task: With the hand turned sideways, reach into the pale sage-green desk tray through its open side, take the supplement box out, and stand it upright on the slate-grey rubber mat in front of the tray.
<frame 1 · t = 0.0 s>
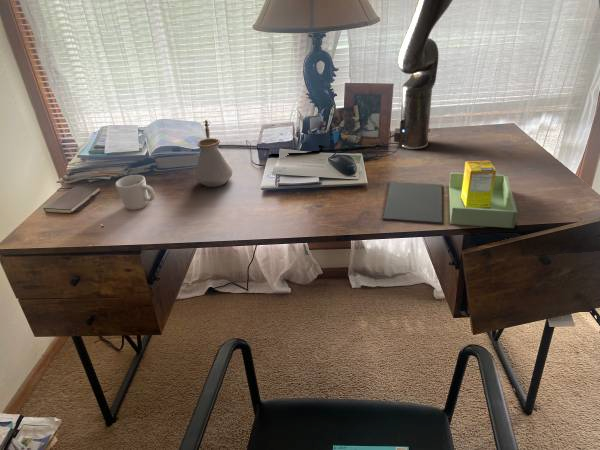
coffee pot: (215, 175, 140), on the table
supplement box: (474, 205, 111), resting on desk tray
grey mat: (413, 201, 115), on the table
cup: (142, 206, 125), on the table
desk tray: (478, 205, 111), on the table
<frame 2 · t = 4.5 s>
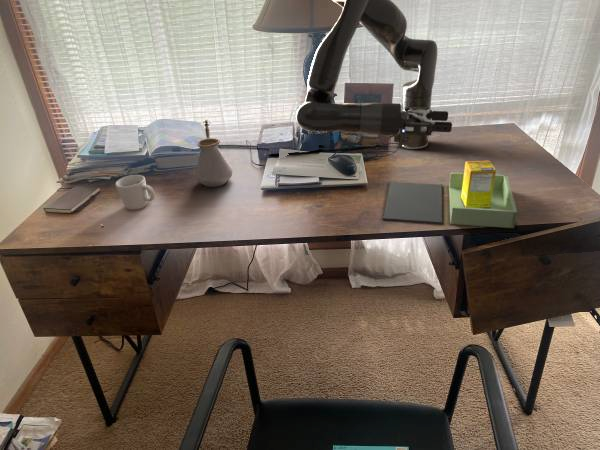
hand: (449, 121, 103), 22 cm above the table, tool horizontal, fingers open, 8 cm apart
nothing on the table moved.
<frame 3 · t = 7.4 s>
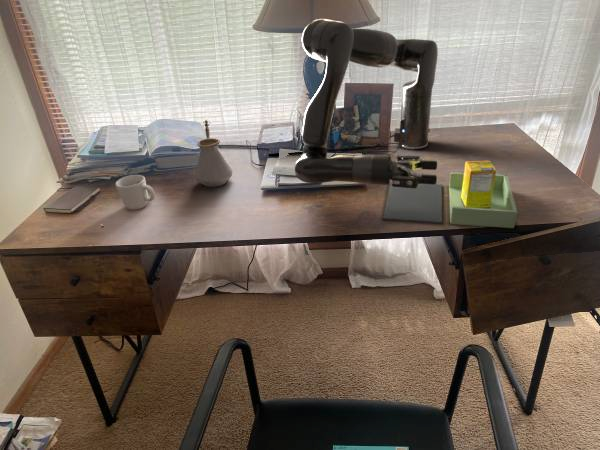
hand: (436, 172, 109), 9 cm above the table, tool horizontal, fingers open, 8 cm apart
nothing on the table moved.
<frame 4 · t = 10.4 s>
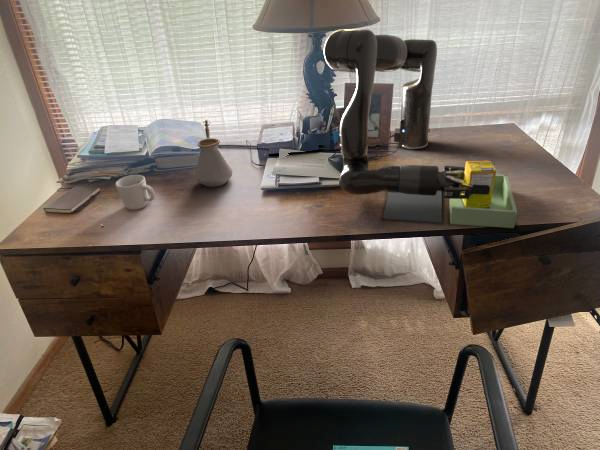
hand: (487, 183, 108), 6 cm above the table, tool horizontal, fingers closed on supplement box, 6 cm apart
supplement box: (474, 205, 111), resting on desk tray, touching gripper
everything else where it was.
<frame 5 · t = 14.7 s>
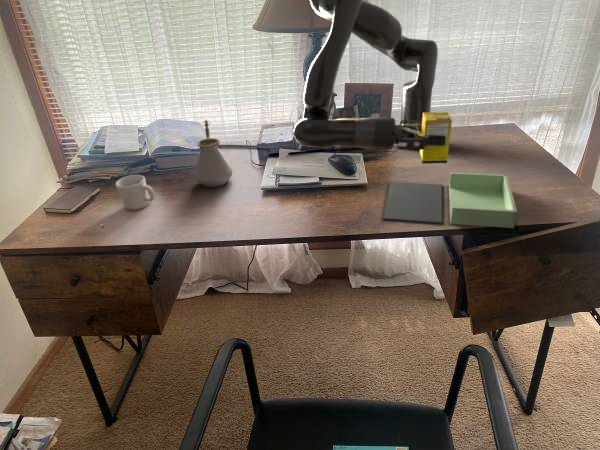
hand: (444, 135, 104), 19 cm above the table, tool horizontal, fingers closed on supplement box, 6 cm apart
supplement box: (432, 159, 108), point 12 cm above the table, touching gripper
everything else where it was.
when the fingers open (7 cm above the table, at t = 18.8 s): supplement box stays where it is, resting on grey mat.
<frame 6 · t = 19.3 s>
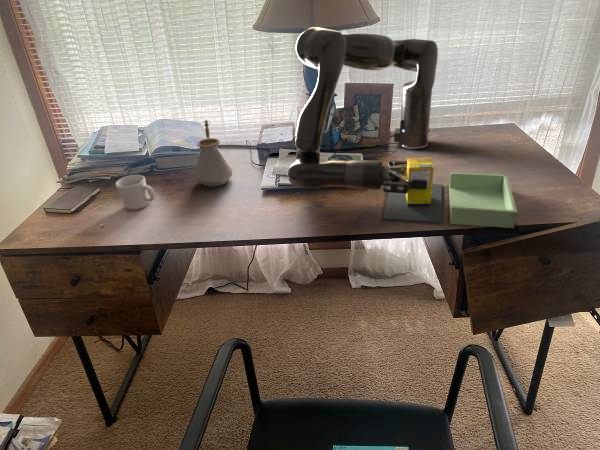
hand: (427, 177, 111), 7 cm above the table, tool horizontal, fingers open, 8 cm apart
supplement box: (417, 201, 115), resting on grey mat
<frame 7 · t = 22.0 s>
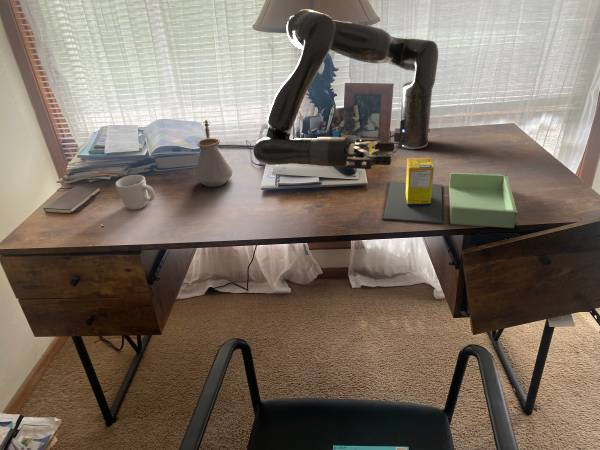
hand: (392, 153, 110), 13 cm above the table, tool horizontal, fingers open, 8 cm apart
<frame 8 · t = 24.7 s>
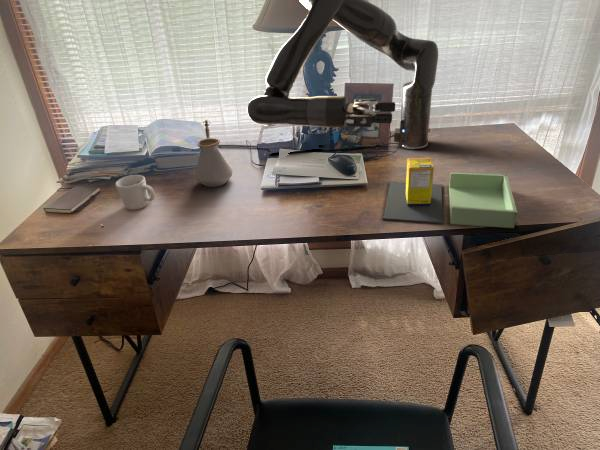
hand: (393, 112, 104), 24 cm above the table, tool horizontal, fingers open, 8 cm apart
at the end: supplement box inside the target area (0.1 cm from its centre), resting on grey mat; supplement box tilted 0°; the gripper is holding nothing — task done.
